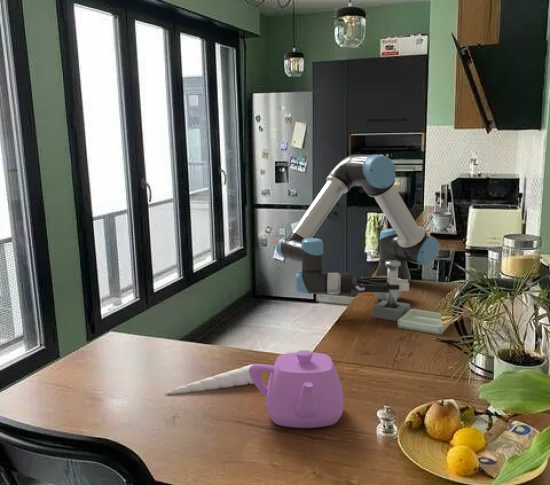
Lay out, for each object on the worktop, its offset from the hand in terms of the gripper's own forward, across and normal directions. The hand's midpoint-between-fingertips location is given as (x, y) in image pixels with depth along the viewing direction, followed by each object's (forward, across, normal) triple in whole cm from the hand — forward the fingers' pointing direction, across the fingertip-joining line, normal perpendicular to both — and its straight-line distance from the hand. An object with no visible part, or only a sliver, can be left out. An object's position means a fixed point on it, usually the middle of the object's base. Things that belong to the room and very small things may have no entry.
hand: (408, 285), depth 187 cm
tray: (+5, +9, -11) cm, 15 cm away
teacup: (-7, -19, -11) cm, 23 cm away
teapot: (-29, +74, -11) cm, 80 cm away
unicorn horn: (-53, +62, -12) cm, 82 cm away
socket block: (-5, 0, -11) cm, 12 cm away
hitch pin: (-5, 0, -11) cm, 12 cm away
